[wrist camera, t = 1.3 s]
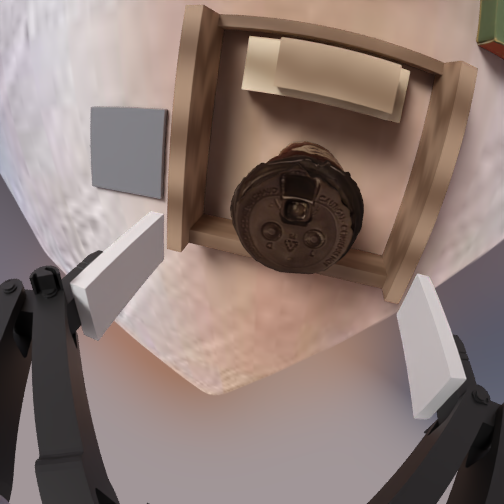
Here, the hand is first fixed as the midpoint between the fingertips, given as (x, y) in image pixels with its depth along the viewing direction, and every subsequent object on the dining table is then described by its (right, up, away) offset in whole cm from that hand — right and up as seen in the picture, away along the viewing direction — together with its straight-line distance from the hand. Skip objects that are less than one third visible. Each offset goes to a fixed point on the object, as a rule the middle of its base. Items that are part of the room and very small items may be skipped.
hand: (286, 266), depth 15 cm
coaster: (-16, +12, +17) cm, 26 cm away
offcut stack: (+5, +16, +9) cm, 19 cm away
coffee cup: (+4, +9, +14) cm, 17 cm away
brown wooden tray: (+4, +11, +12) cm, 17 cm away
